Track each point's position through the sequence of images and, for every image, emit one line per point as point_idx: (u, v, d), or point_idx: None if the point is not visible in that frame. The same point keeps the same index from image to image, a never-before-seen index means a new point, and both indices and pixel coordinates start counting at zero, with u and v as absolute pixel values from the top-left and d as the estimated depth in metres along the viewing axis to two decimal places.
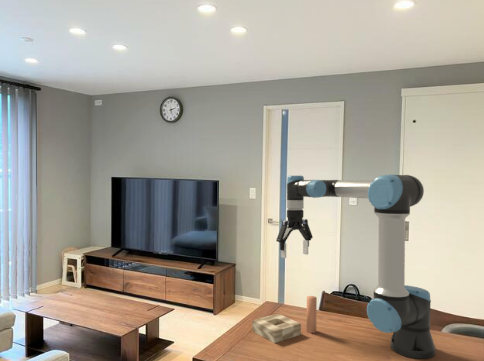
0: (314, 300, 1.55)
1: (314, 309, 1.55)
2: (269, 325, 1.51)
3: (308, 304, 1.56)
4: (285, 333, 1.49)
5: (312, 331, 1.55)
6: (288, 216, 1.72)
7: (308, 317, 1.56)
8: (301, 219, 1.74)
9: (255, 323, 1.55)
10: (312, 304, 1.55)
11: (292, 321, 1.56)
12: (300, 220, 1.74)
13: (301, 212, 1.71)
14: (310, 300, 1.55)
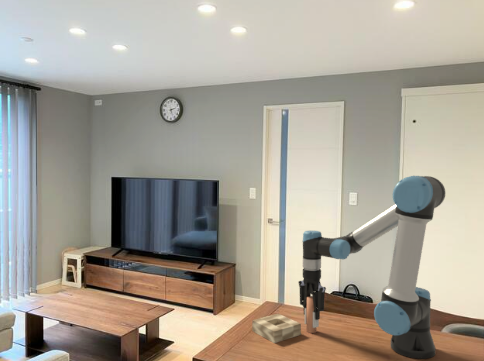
0: None
1: None
2: (269, 325, 1.51)
3: (308, 304, 1.56)
4: (285, 333, 1.49)
5: (312, 331, 1.55)
6: None
7: (308, 317, 1.56)
8: (316, 282, 1.54)
9: (255, 323, 1.55)
10: (312, 303, 1.55)
11: (292, 321, 1.56)
12: (314, 282, 1.54)
13: (306, 272, 1.55)
14: (310, 300, 1.55)
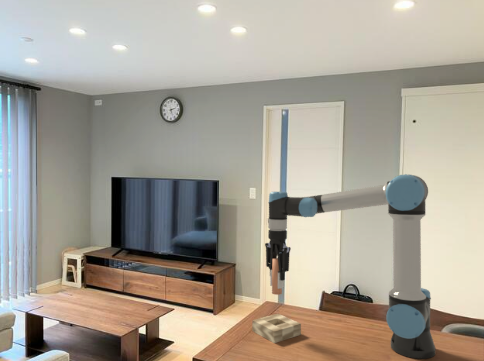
0: None
1: None
2: (269, 325, 1.51)
3: (273, 265, 1.54)
4: (285, 333, 1.49)
5: (277, 292, 1.53)
6: None
7: (273, 278, 1.54)
8: (281, 242, 1.52)
9: (255, 323, 1.55)
10: (277, 265, 1.53)
11: (292, 321, 1.56)
12: (279, 242, 1.52)
13: (271, 233, 1.53)
14: (275, 261, 1.53)
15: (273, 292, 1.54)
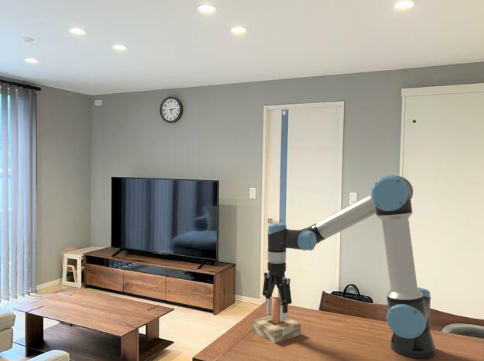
0: (279, 301, 1.53)
1: (279, 310, 1.53)
2: (269, 325, 1.51)
3: (273, 305, 1.54)
4: (285, 333, 1.49)
5: None
6: None
7: (273, 318, 1.54)
8: (279, 275, 1.52)
9: (255, 323, 1.55)
10: (277, 305, 1.53)
11: (292, 321, 1.56)
12: (278, 275, 1.52)
13: (270, 265, 1.53)
14: (275, 301, 1.53)
15: None
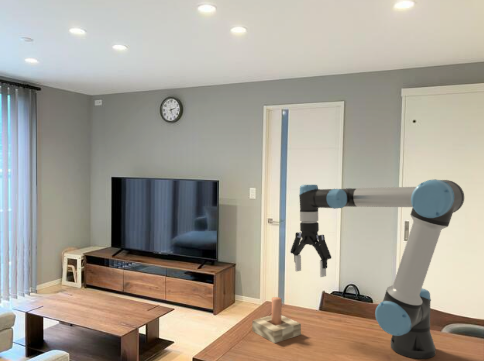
0: (279, 301, 1.53)
1: (279, 310, 1.53)
2: (269, 325, 1.51)
3: (273, 305, 1.54)
4: (285, 333, 1.49)
5: None
6: None
7: (273, 318, 1.54)
8: (313, 234, 1.54)
9: (255, 323, 1.55)
10: (277, 305, 1.53)
11: (292, 321, 1.56)
12: (311, 235, 1.54)
13: (303, 225, 1.54)
14: (275, 301, 1.53)
15: None
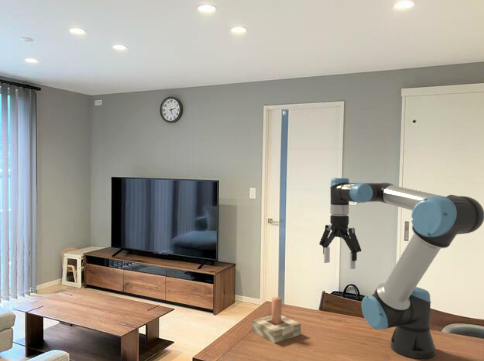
0: (279, 301, 1.53)
1: (279, 310, 1.53)
2: (269, 325, 1.51)
3: (273, 305, 1.54)
4: (285, 333, 1.49)
5: None
6: None
7: (273, 318, 1.54)
8: (343, 227, 1.56)
9: (255, 323, 1.55)
10: (277, 305, 1.53)
11: (292, 321, 1.56)
12: (342, 227, 1.57)
13: (334, 218, 1.57)
14: (275, 301, 1.53)
15: None
